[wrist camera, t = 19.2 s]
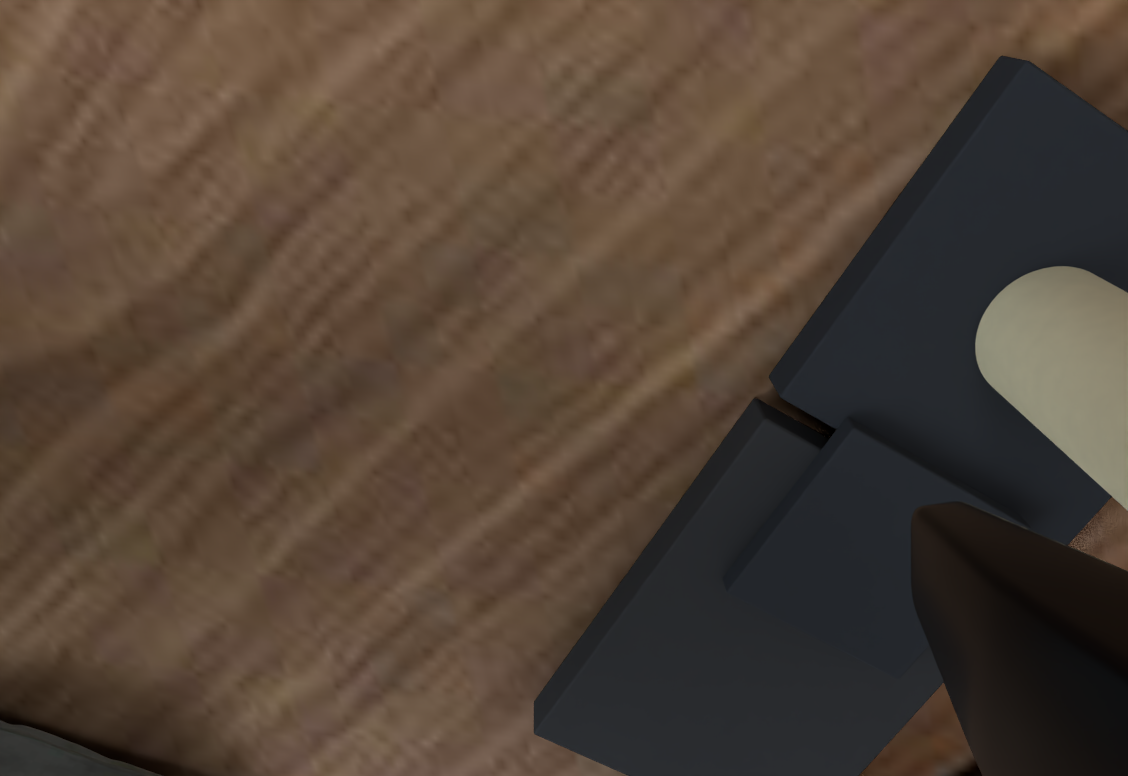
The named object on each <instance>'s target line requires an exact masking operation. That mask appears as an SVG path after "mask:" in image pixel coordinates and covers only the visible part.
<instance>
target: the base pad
mask: <svg viewBox="0 0 1128 776" xmlns="http://www.w3.org/2000/svg"><path fill="white" fill-rule="evenodd" d="M828 440H829V439H828V438H826V437H825V436H823V435H821V434H819V433H818V432H816V431H814V430H812V429H810V428H809V427H807V426H805V425H803V424H802V423H800V422H798V421H796V420H794V419H793V418H791V417H789V416H787V415H786V414H784V413H782V412H780V411H778V410H777V409H775V408H773V407H771V406H770V405H768V404H766V403H764V402H762V401H761V400H759V399H756V398H754V399H753V400H752V402H751V403H750V404H749V406H748V407H747V409H746V410H745V411H744V413H743V414H742V416H741V417H740V418H739V420H738V421H737V422H736V424H735V425H734V427H733V428H732V429H731V431H730V432H729V433H728V435H727V436H726V438H725V439H724V440H723V442H722V443H721V445H720V446H719V447H718V449H717V450H716V451H715V453H714V454H713V456H712V457H711V458H710V460H709V461H708V462H707V464H706V465H705V467H704V468H703V469H702V471H701V472H700V473H699V475H698V476H697V478H696V479H695V480H694V482H693V483H692V485H691V486H690V487H689V489H688V490H687V491H686V493H685V494H684V496H683V497H682V498H681V500H680V501H679V502H678V504H677V505H676V507H675V508H674V509H673V511H672V512H671V514H670V515H669V516H668V518H667V519H666V520H665V522H664V523H663V525H662V526H661V527H660V529H659V530H658V531H657V533H656V534H655V536H654V537H653V538H652V540H651V541H650V543H649V544H648V545H647V547H646V548H645V549H644V551H643V552H642V554H641V555H640V556H639V558H638V559H637V560H636V562H635V563H634V565H633V566H632V567H631V569H630V570H629V572H628V573H627V574H626V576H625V577H624V578H623V580H622V581H621V583H620V584H619V585H618V587H617V588H616V589H615V591H614V592H613V594H612V595H611V596H610V598H609V599H608V600H607V602H606V603H605V605H604V606H603V607H602V609H601V610H600V612H599V613H598V614H597V616H596V617H595V618H594V620H593V621H592V623H591V624H590V625H589V627H588V628H587V629H586V631H585V632H584V634H583V635H582V636H581V638H580V639H579V641H578V642H577V643H576V645H575V646H574V647H573V649H572V650H571V652H570V653H569V654H568V656H567V657H566V658H565V660H564V661H563V663H562V664H561V665H560V667H559V668H558V670H557V671H556V672H555V674H554V675H553V676H552V678H551V679H550V681H549V682H548V683H547V685H546V686H545V687H544V689H543V690H542V692H541V693H540V694H539V696H538V697H537V699H536V700H535V701H534V734H536V735H538V736H540V737H542V738H544V739H547V740H549V741H551V742H553V743H556V744H558V745H560V746H562V747H565V748H567V749H569V750H571V751H574V752H576V753H578V754H580V755H583V756H585V757H587V758H590V759H592V760H594V761H596V762H599V763H601V764H603V765H605V766H608V767H610V768H612V769H614V770H617V771H619V772H621V773H623V774H626V775H628V776H859V775H860V774H861V773H862V771H863V770H864V769H865V768H866V767H867V766H868V765H869V764H870V763H871V762H872V760H873V759H874V758H875V757H876V756H877V755H878V754H879V753H880V752H881V751H882V750H883V748H884V747H885V746H886V745H887V744H888V743H889V742H890V741H891V740H892V739H893V737H894V736H895V735H896V734H897V733H898V732H899V731H900V730H901V729H902V728H903V726H904V725H905V724H906V723H907V722H908V721H909V720H910V719H911V718H912V717H913V715H914V714H915V713H916V712H917V711H918V710H919V709H920V708H921V707H922V706H923V704H924V703H925V702H926V701H927V700H928V699H929V698H930V697H931V696H932V695H933V693H934V692H935V691H936V690H937V689H938V688H939V687H940V686H941V685H942V684H943V682H944V681H943V679H942V676H941V674H940V671H939V669H938V666H937V664H936V661H935V659H934V656H933V654H932V651H931V649H930V646H928V647H927V648H926V650H925V651H924V652H923V653H922V654H921V655H920V656H919V657H918V659H917V660H916V661H915V662H914V663H913V664H912V665H911V667H910V668H909V669H908V670H907V671H906V672H905V673H904V674H903V676H902V677H901V678H900V679H896V678H894V677H892V676H890V675H888V674H886V673H884V672H882V671H880V670H878V669H876V668H874V667H872V666H870V665H868V664H866V663H864V662H863V661H861V660H859V659H857V658H855V657H853V656H851V655H849V654H847V653H845V652H843V651H841V650H839V649H837V648H835V647H833V646H831V645H829V644H827V643H825V642H823V641H821V640H819V639H817V638H815V637H813V636H811V635H809V634H807V633H805V632H803V631H801V630H799V629H797V628H795V627H793V626H791V625H789V624H787V623H785V622H783V621H781V620H779V619H777V618H775V617H773V616H771V615H769V614H767V613H765V612H763V611H761V610H760V609H758V608H756V607H754V606H752V605H750V604H748V603H746V602H744V601H742V600H740V599H738V598H736V597H734V596H732V595H730V594H728V593H727V592H726V589H725V586H724V583H723V580H722V579H723V577H724V576H725V574H726V573H727V572H728V570H729V569H730V568H731V566H732V565H733V564H734V563H735V561H736V560H737V559H738V557H739V556H740V555H741V553H742V552H743V551H744V550H745V548H746V547H747V546H748V544H749V543H750V542H751V540H752V539H753V538H754V537H755V535H756V534H757V533H758V531H759V530H760V529H761V527H762V526H763V525H764V523H765V522H766V521H767V520H768V518H769V517H770V516H771V514H772V513H773V512H774V510H775V509H776V508H777V507H778V505H779V504H780V503H781V501H782V500H783V499H784V497H785V496H786V495H787V494H788V492H789V491H790V490H791V488H792V487H793V486H794V484H795V483H796V482H797V481H798V479H799V478H800V477H801V475H802V474H803V473H804V471H805V470H806V469H807V468H808V466H809V465H810V464H811V462H812V461H813V460H814V458H815V457H816V456H817V455H818V453H819V452H820V451H821V449H822V448H823V447H824V445H825V444H826V443H827V442H828Z"/></svg>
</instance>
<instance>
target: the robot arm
mask: <svg viewBox="0 0 1128 776" xmlns="http://www.w3.org/2000/svg"><path fill="white" fill-rule="evenodd" d="M911 591H912V598H913V603H914V607H915V610H916V613H917V616H918V619H919V621H920V624H921V626H922V629H923V631H924V634H925V636H926V639H927V641H928V644H929V646H930V649H931V651H932V654H933V656H934V659H935V661H936V664H937V666H938V669H939V671H940V674H941V676H942V679H943V681H944V684H945V686H946V689H947V691H948V694H949V696H950V699H951V702H952V704H953V707H954V709H955V712H956V714H957V717H958V719H959V722H960V724H961V727H962V729H963V732H964V734H965V737H966V739H967V741H968V744H969V746H970V749H971V751H972V753H973V756H974V758H975V760H976V763H977V765H978V767H979V769H980V771H981V773H982V775H983V776H1128V571H1126V570H1124V569H1121V568H1119V567H1117V566H1114V565H1112V564H1110V563H1107V562H1105V561H1103V560H1100V559H1098V558H1095V557H1093V556H1091V555H1088V554H1086V553H1084V552H1081V551H1079V550H1077V549H1074V548H1072V547H1070V546H1067V545H1065V544H1062V543H1060V542H1058V541H1055V540H1053V539H1051V538H1048V537H1046V536H1044V535H1041V534H1039V533H1036V532H1034V531H1032V530H1029V529H1027V528H1025V527H1022V526H1020V525H1018V524H1015V523H1013V522H1011V521H1008V520H1006V519H1003V518H1001V517H999V516H996V515H994V514H992V513H989V512H987V511H985V510H982V509H980V508H977V507H975V506H973V505H970V504H968V503H966V502H963V501H952V502H945V503H938V504H930V505H923V506H920V507H918V508H916V509H915V511H914V512H913V515H912V518H911Z"/></svg>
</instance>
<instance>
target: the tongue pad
mask: <svg viewBox="0 0 1128 776" xmlns="http://www.w3.org/2000/svg"><path fill="white" fill-rule="evenodd" d="M769 378H770V380H771V382H772V384H773V385H774V387H775V389H776V391H777V392H778V394H779V396H780V397H781V398H782V399H784V400H785V401H787V402H789V403H791V404H792V405H794V406H796V407H798V408H799V409H801V410H803V411H805V412H806V413H808V414H810V415H812V416H814V417H815V418H817V419H819V420H821V421H822V422H824V423H826V424H828V425H829V426H831V427H833V428H835V429H836V431H835V432H834V434H833V435H832V436H831V438H830V439H829V440H828V442H827V443H826V444H825V445H824V447H823V448H822V449H821V451H820V452H819V453H818V455H817V456H816V457H815V458H814V460H813V461H812V462H811V464H810V465H809V466H808V468H807V469H806V470H805V471H804V473H803V474H802V475H801V477H800V478H799V479H798V481H797V482H796V483H795V484H794V486H793V487H792V488H791V490H790V491H789V492H788V494H787V495H786V496H785V497H784V499H783V500H782V501H781V503H780V504H779V505H778V507H777V508H776V509H775V510H774V512H773V513H772V514H771V516H770V517H769V518H768V520H767V521H766V522H765V523H764V525H763V526H762V527H761V529H760V530H759V531H758V533H757V534H756V535H755V537H754V538H753V539H752V540H751V542H750V543H749V544H748V546H747V547H746V548H745V550H744V551H743V552H742V553H741V555H740V556H739V557H738V559H737V560H736V561H735V563H734V564H733V565H732V566H731V568H730V569H729V570H728V572H727V573H726V574H725V576H724V577H723V579H722V580H723V583H724V586H725V589H726V592H727V593H728V594H730V595H732V596H734V597H736V598H738V599H740V600H742V601H744V602H746V603H748V604H750V605H752V606H754V607H756V608H758V609H760V610H761V611H763V612H765V613H767V614H769V615H771V616H773V617H775V618H777V619H779V620H781V621H783V622H785V623H787V624H789V625H791V626H793V627H795V628H797V629H799V630H801V631H803V632H805V633H807V634H809V635H811V636H813V637H815V638H817V639H819V640H821V641H823V642H825V643H827V644H829V645H831V646H833V647H835V648H837V649H839V650H841V651H843V652H845V653H847V654H849V655H851V656H853V657H855V658H857V659H859V660H861V661H863V662H864V663H866V664H868V665H870V666H872V667H874V668H876V669H878V670H880V671H882V672H884V673H886V674H888V675H890V676H892V677H894V678H896V679H900V678H901V677H902V676H903V674H904V673H905V672H906V671H907V670H908V669H909V668H910V667H911V665H912V664H913V663H914V662H915V661H916V660H917V659H918V657H919V656H920V655H921V654H922V653H923V652H924V651H925V650H926V648H927V647H928V646H929V644H928V641H927V639H926V636H925V634H924V631H923V629H922V626H921V624H920V621H919V619H918V616H917V613H916V610H915V607H914V603H913V598H912V591H911V518H912V515H913V512H914V511H915V509H916V508H918V507H920V506H923V505H930V504H938V503H945V502H952V501H963V502H966V503H968V504H970V505H973V506H975V507H977V508H980V509H982V510H985V511H987V512H989V513H992V514H994V515H996V516H999V517H1001V518H1003V519H1006V520H1008V521H1011V522H1013V523H1015V524H1018V525H1020V526H1022V527H1025V528H1027V529H1029V530H1032V531H1034V532H1036V533H1039V534H1041V535H1044V536H1046V537H1048V538H1051V539H1053V540H1055V541H1058V542H1060V543H1062V544H1065V545H1068V544H1069V543H1070V542H1071V541H1072V540H1073V539H1074V537H1075V536H1076V535H1077V534H1078V533H1079V532H1080V531H1081V530H1082V529H1083V528H1084V526H1085V525H1086V524H1087V523H1088V522H1089V521H1090V520H1091V519H1092V518H1093V517H1094V516H1095V514H1096V513H1097V512H1098V511H1099V510H1100V509H1101V508H1102V507H1103V506H1104V505H1105V503H1106V502H1107V501H1108V500H1109V499H1110V498H1111V497H1113V498H1114V499H1115V500H1116V501H1118V502H1119V503H1120V504H1121V505H1122V506H1123V507H1124V508H1125V509H1126V510H1127V511H1128V131H1127V130H1126V129H1124V128H1123V127H1121V126H1120V125H1119V124H1117V123H1116V122H1114V121H1113V120H1112V119H1110V118H1109V117H1107V116H1106V115H1105V114H1103V113H1102V112H1100V111H1099V110H1097V109H1096V108H1095V107H1093V106H1092V105H1090V104H1089V103H1088V102H1086V101H1085V100H1083V99H1082V98H1081V97H1079V96H1078V95H1076V94H1075V93H1074V92H1072V91H1071V90H1069V89H1068V88H1066V87H1065V86H1064V85H1062V84H1061V83H1059V82H1058V81H1057V80H1055V79H1054V78H1052V77H1051V76H1050V75H1048V74H1047V73H1045V72H1044V71H1043V70H1041V69H1040V68H1038V67H1037V66H1036V65H1034V64H1033V63H1031V62H1030V61H1027V60H1022V59H1016V58H1011V57H1006V56H1001V57H999V59H998V60H997V61H996V63H995V64H994V65H993V67H992V68H991V70H990V71H989V72H988V74H987V75H986V76H985V78H984V79H983V81H982V82H981V83H980V85H979V86H978V88H977V89H976V90H975V92H974V93H973V94H972V96H971V97H970V99H969V100H968V101H967V103H966V104H965V106H964V107H963V108H962V110H961V111H960V112H959V114H958V115H957V117H956V118H955V119H954V121H953V122H952V123H951V125H950V126H949V128H948V129H947V130H946V132H945V133H944V135H943V136H942V137H941V139H940V140H939V141H938V143H937V144H936V146H935V147H934V148H933V150H932V151H931V153H930V154H929V155H928V157H927V158H926V159H925V161H924V162H923V164H922V165H921V166H920V168H919V169H918V170H917V172H916V173H915V175H914V176H913V177H912V179H911V180H910V182H909V183H908V184H907V186H906V187H905V188H904V190H903V191H902V193H901V194H900V195H899V197H898V198H897V199H896V201H895V202H894V204H893V205H892V206H891V208H890V209H889V211H888V212H887V213H886V215H885V216H884V217H883V219H882V220H881V222H880V223H879V224H878V226H877V227H876V229H875V230H874V231H873V233H872V234H871V235H870V237H869V238H868V240H867V241H866V242H865V244H864V245H863V246H862V248H861V249H860V251H859V252H858V253H857V255H856V256H855V258H854V259H853V260H852V262H851V263H850V264H849V266H848V267H847V269H846V270H845V271H844V273H843V274H842V275H841V277H840V278H839V280H838V281H837V282H836V284H835V285H834V287H833V288H832V289H831V291H830V292H829V293H828V295H827V296H826V298H825V299H824V300H823V302H822V303H821V305H820V306H819V307H818V309H817V310H816V311H815V313H814V314H813V316H812V317H811V318H810V320H809V321H808V322H807V324H806V325H805V327H804V328H803V329H802V331H801V332H800V334H799V335H798V336H797V338H796V339H795V340H794V342H793V343H792V345H791V346H790V347H789V349H788V350H787V352H786V353H785V354H784V356H783V357H782V358H781V360H780V361H779V363H778V364H777V365H776V367H775V368H774V369H773V371H772V372H771V374H770V375H769Z"/></svg>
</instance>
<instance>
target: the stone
mask: <svg viewBox="0 0 1128 776" xmlns="http://www.w3.org/2000/svg"><path fill="white" fill-rule="evenodd" d="M0 776H162V775H159V774H156V773H153V772H150V771H147V770H145V769H142V768H139V767H136V766H134V765H131V764H128V763H125V762H122V761H118V760H111V759H109V758H107V757H104V756H102V755H100V754H98V753H96V752H93V751H91V750H89V749H87V748H85V747H82V746H80V745H78V744H75V743H72V742H69V741H67V740H64V739H62V738H59V737H57V736H55V735H52V734H49V733H46V732H43V731H41V730H38V729H34V728H31V727H28V726H24V725H11V724H8V723H5V722H3V721H1V720H0Z"/></svg>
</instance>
